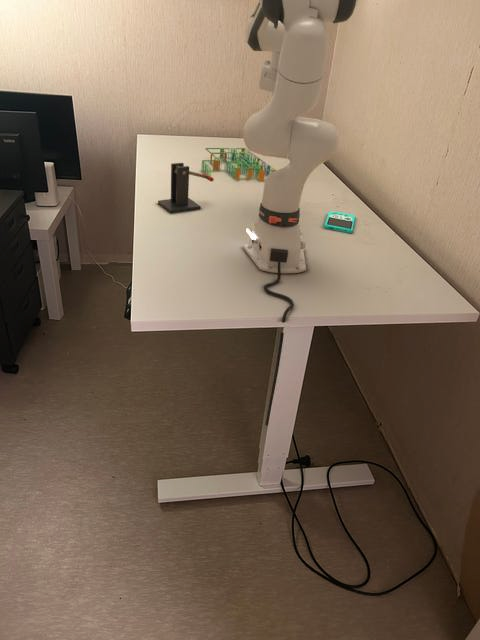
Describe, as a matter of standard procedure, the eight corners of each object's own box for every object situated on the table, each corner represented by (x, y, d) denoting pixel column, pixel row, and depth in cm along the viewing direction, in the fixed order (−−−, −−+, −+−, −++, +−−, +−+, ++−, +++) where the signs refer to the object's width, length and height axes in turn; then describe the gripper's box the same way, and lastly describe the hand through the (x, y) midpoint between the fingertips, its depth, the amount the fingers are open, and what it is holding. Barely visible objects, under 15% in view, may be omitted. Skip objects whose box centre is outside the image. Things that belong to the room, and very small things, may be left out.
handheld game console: (355, 218, 175) (356, 214, 174) (352, 233, 162) (353, 230, 161) (328, 213, 176) (329, 209, 176) (323, 228, 163) (324, 224, 162)
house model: (275, 180, 204) (277, 169, 202) (212, 182, 193) (213, 170, 191) (245, 157, 230) (246, 148, 228) (188, 158, 220) (188, 148, 217)
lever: (204, 178, 170) (206, 172, 169) (212, 183, 167) (214, 176, 166) (172, 170, 161) (173, 163, 160) (179, 175, 158) (181, 168, 157)
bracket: (187, 199, 173) (188, 159, 165) (200, 209, 167) (202, 168, 159) (157, 203, 167) (157, 162, 159) (170, 213, 161) (171, 170, 152)
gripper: (257, 58, 156) (252, 102, 164) (296, 67, 143) (289, 115, 150) (272, 59, 159) (266, 102, 167) (311, 67, 146) (303, 114, 154)
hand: (277, 108), depth 159 cm, fingers closed
